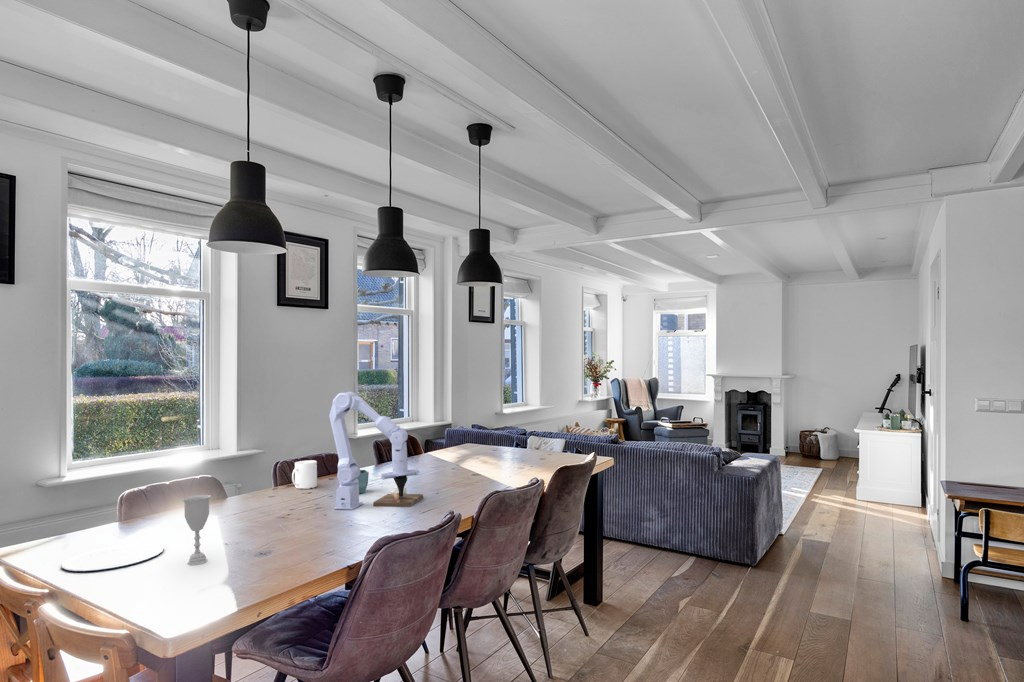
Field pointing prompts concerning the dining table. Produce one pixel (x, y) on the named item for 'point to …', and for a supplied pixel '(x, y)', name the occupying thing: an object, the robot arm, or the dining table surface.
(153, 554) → the plate
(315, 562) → the dining table surface
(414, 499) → the strip board
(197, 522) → the chalice
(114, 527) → the dining table surface
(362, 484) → the flower pot
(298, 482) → the mug
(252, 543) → the dining table surface
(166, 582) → the dining table surface
